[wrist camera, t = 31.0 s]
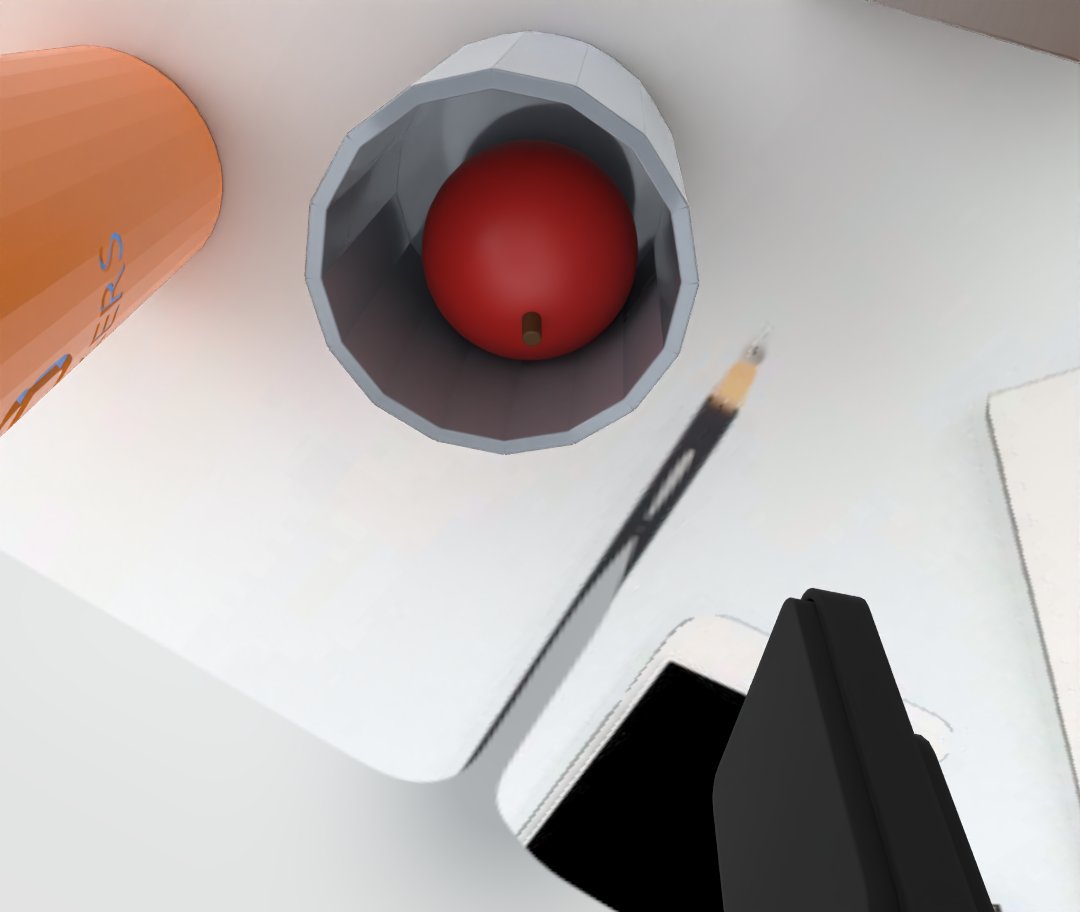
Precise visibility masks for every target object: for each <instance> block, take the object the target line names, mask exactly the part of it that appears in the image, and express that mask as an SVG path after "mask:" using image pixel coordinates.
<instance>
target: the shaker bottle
mask: <svg viewBox="0 0 1080 912" xmlns="http://www.w3.org/2000/svg"><path fill="white" fill-rule="evenodd" d="M222 190H223V189H222V174H221V165H220V162H219V158H218V154H217V150H216V146H215V143H214V141H213V139H212V136H211V134H210V132H209V130H208V127H207V125H206V123H205V121H204V120H203V118H202V117H201V115H200V114H199V112H198V111H197V109H196V108H195V106H194V105H193V103H192V102H191V101H190V100H189V99H188V97H187V96H186V95H185V94H184V93H183V92H182V91H181V90H180V89H179V88H178V87H177V86H176V84H175V83H173V82H172V81H171V80H170V79H168V78H167V77H166V76H165V75H163V74H162V73H161V72H159V71H158V70H157V69H156V68H154V67H152V66H151V65H149V64H147V63H145V62H143V61H141V60H139V59H137V58H136V57H134V56H132V55H129V54H126V53H123V52H120V51H117V50H114V49H110V48H106V47H97V46H88V45H81V46H72V47H63V48H55V49H46V50H37V51H29V52H20V53H11V54H3V55H0V437H1V436H2V435H3V434H4V433H5V432H6V431H7V430H8V429H9V428H10V427H11V426H12V425H13V424H15V423H16V422H17V421H18V420H19V419H20V418H21V417H22V416H23V415H24V414H25V413H26V412H27V411H28V410H29V409H31V408H32V407H33V406H34V405H35V404H36V403H37V402H38V401H39V400H40V399H41V398H42V397H43V396H44V395H45V394H47V393H48V392H49V391H50V390H51V389H52V388H53V387H54V386H55V385H56V384H57V383H58V382H59V381H60V380H61V379H63V378H64V377H65V376H66V375H67V374H68V373H69V372H70V371H71V370H72V369H73V368H74V367H75V366H76V365H77V364H78V363H80V362H81V361H82V360H83V359H84V358H85V357H86V356H87V355H88V354H89V353H90V352H91V351H92V350H93V349H94V348H96V347H97V346H98V345H99V344H100V343H101V342H102V341H103V340H104V339H105V338H106V337H107V336H108V335H109V334H110V333H112V332H113V331H114V330H115V329H116V328H117V327H118V326H119V325H120V324H121V323H122V322H123V321H124V320H125V319H126V318H128V317H129V316H130V315H131V314H132V313H133V312H134V311H135V310H136V309H137V308H138V307H139V306H140V305H141V304H142V303H143V302H145V301H146V300H147V299H148V298H149V297H150V296H151V295H152V294H153V293H154V292H155V291H156V290H157V289H158V288H159V287H161V286H162V285H163V284H164V283H165V282H166V281H167V280H168V279H169V278H170V277H171V276H172V275H173V274H174V273H175V272H177V271H178V270H179V269H180V268H181V267H182V266H183V265H184V264H185V263H186V262H187V261H188V260H189V259H190V258H191V257H192V256H194V255H195V254H196V253H197V252H198V251H199V250H200V249H201V248H202V247H203V245H204V244H205V242H206V241H207V239H208V238H209V236H210V234H211V233H212V231H213V229H214V226H215V223H216V221H217V218H218V215H219V212H220V205H221V198H222Z"/></svg>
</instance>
